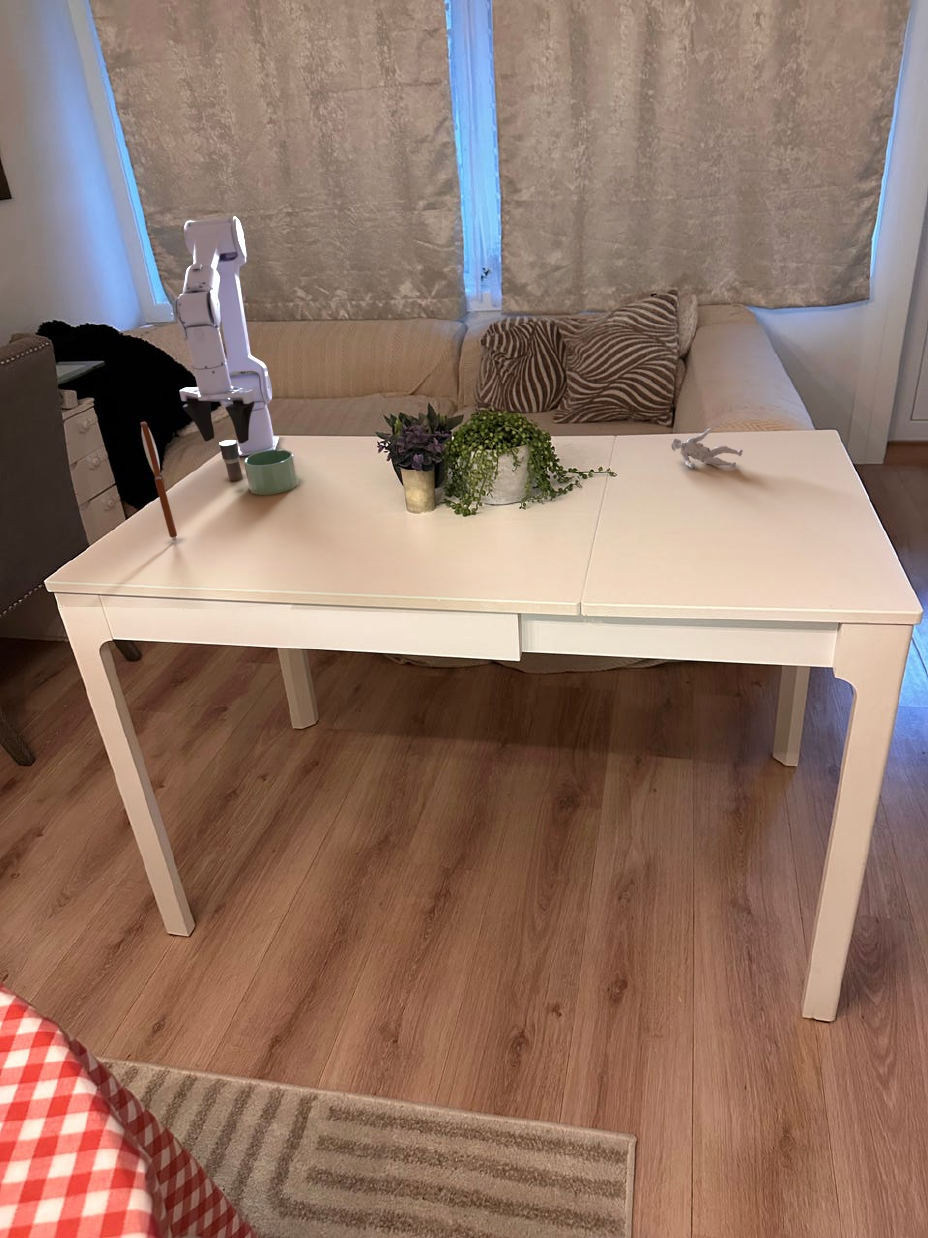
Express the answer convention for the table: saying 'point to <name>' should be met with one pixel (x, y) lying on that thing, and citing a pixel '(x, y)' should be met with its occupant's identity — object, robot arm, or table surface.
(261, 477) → the cup
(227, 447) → the brush
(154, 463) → the magnifying glass
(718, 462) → the soldier figure
